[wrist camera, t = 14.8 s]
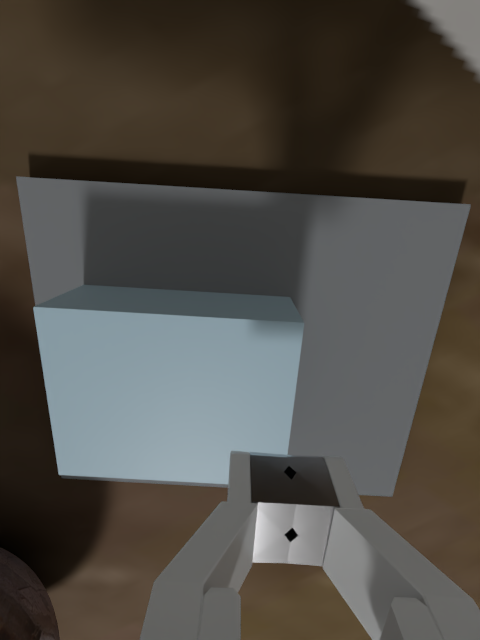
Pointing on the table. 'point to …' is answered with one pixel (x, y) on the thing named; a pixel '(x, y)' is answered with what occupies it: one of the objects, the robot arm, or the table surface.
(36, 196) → the mat
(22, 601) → the wooden sphere
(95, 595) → the table surface
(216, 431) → the block
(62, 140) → the table surface
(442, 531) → the table surface
